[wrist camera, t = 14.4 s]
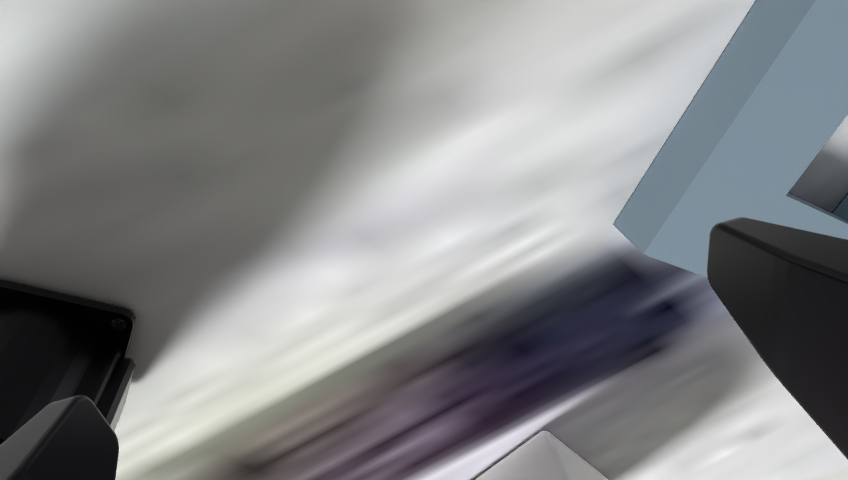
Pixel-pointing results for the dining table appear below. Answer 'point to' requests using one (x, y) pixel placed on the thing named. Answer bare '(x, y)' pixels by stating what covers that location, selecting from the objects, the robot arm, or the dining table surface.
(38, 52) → the dining table surface
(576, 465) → the medicine bottle
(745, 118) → the slate holder block
